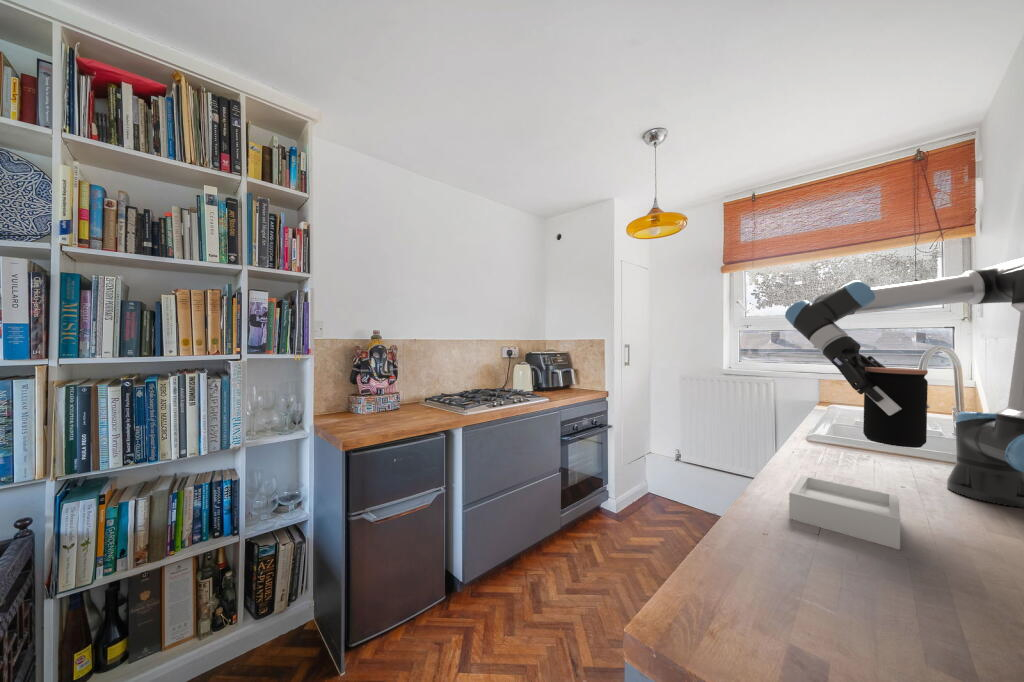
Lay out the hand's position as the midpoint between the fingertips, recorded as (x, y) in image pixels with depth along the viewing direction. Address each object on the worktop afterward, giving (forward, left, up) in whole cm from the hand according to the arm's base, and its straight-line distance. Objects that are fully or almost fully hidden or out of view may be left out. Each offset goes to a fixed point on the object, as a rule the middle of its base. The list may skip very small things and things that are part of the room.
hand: (910, 411), depth 87 cm
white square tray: (+11, +11, -26) cm, 30 cm away
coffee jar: (+3, -1, -8) cm, 9 cm away
